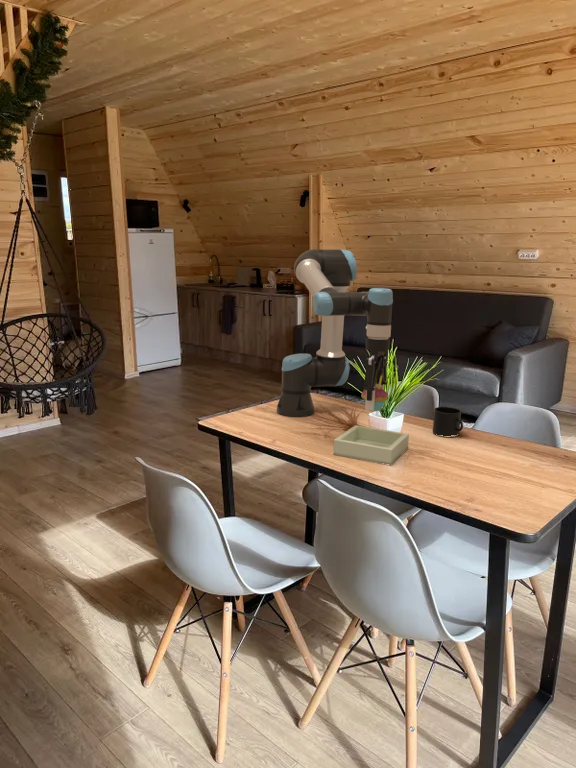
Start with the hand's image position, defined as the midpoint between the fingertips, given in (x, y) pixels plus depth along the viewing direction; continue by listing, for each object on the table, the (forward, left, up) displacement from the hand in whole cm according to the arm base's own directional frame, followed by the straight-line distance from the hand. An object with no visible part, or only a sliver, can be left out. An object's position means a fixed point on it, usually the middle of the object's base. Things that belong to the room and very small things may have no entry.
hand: (374, 406), depth 197 cm
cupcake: (0, 0, -1) cm, 1 cm away
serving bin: (0, 0, -15) cm, 15 cm away
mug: (-32, +18, -15) cm, 40 cm away
